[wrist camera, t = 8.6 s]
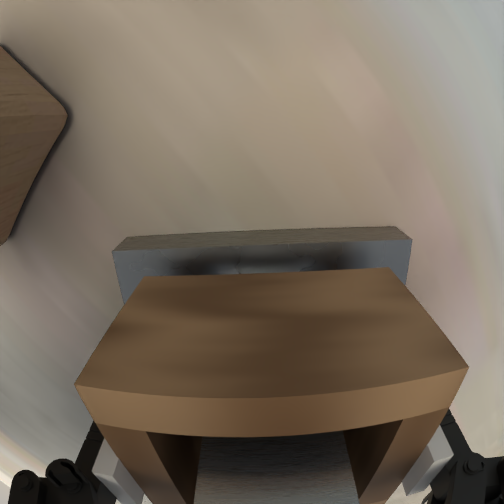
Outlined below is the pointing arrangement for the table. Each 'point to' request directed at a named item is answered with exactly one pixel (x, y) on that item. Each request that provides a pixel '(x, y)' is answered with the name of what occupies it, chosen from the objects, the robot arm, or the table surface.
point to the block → (23, 135)
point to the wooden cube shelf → (270, 372)
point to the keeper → (267, 261)
